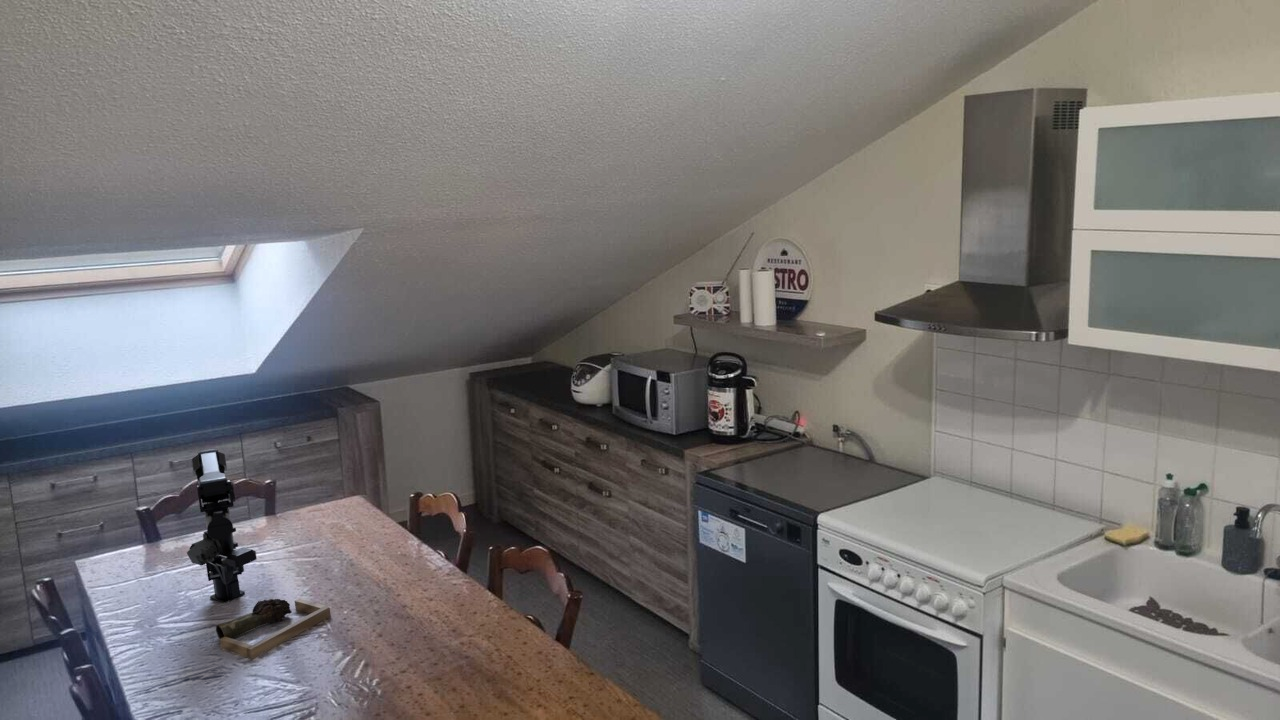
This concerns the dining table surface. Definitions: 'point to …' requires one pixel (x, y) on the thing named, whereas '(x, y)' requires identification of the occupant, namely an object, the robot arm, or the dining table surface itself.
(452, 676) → the dining table surface
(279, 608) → the mossy log
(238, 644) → the cradle frame
